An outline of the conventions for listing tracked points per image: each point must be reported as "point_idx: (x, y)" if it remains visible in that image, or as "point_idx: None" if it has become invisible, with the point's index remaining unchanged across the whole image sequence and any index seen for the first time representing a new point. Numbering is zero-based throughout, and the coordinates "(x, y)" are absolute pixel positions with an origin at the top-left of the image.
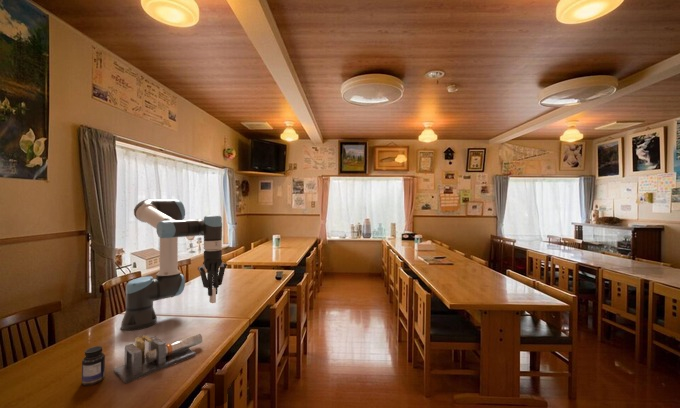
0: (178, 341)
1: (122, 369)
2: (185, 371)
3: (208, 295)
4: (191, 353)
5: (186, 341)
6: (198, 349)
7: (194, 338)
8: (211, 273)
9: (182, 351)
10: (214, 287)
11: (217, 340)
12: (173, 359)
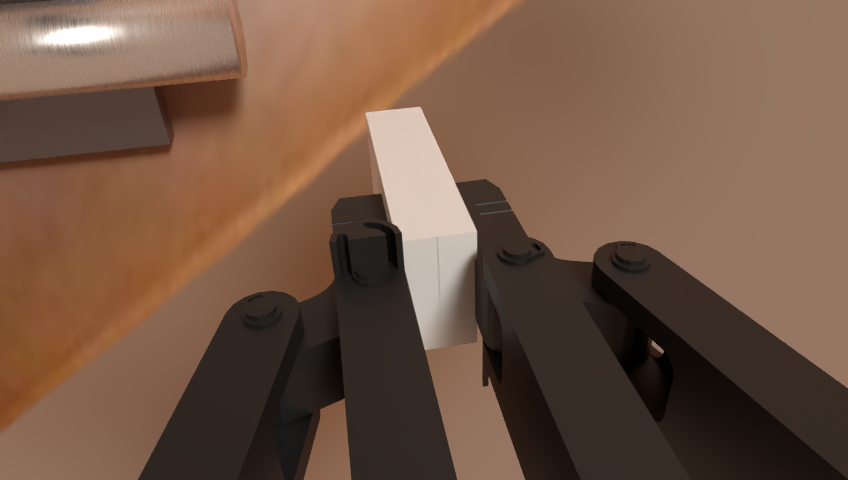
0: (13, 65)
1: None
2: (78, 277)
3: (339, 206)
4: (141, 138)
5: (93, 87)
6: None
7: (170, 78)
8: None
9: None
10: (475, 302)
11: (397, 9)
12: (2, 136)
